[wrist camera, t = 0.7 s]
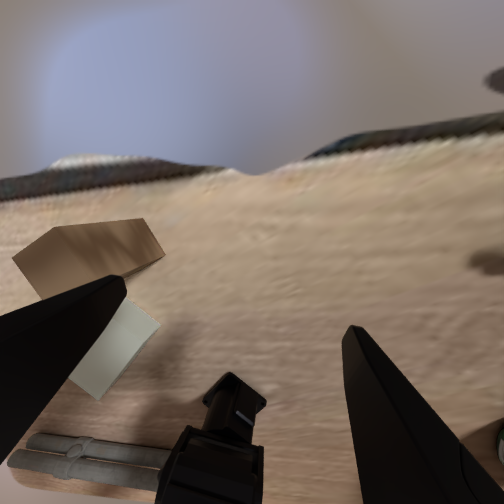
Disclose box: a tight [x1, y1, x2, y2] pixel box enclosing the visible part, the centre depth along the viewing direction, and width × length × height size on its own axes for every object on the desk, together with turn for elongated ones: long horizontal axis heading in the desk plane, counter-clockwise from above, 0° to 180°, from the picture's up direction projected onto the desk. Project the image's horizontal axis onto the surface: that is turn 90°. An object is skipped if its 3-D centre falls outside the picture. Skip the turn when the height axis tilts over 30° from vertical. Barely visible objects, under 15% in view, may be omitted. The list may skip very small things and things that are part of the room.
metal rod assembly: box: [7, 433, 172, 492], centre depth 32 cm, size 26×3×5 cm, turn 92°
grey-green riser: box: [68, 297, 161, 401], centre depth 27 cm, size 12×12×4 cm
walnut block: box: [12, 218, 166, 300], centre depth 21 cm, size 5×5×10 cm
